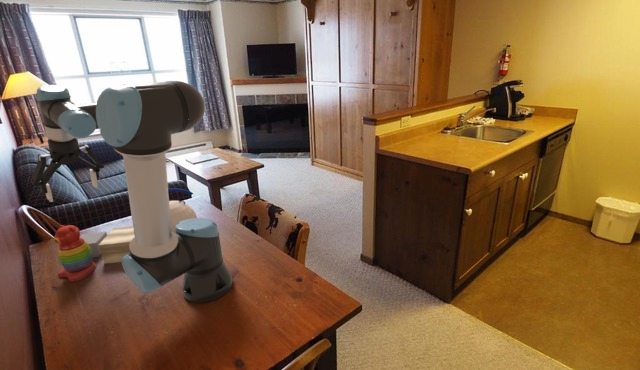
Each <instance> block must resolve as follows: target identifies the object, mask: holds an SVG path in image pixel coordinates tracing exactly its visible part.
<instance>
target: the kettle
mask: <svg viewBox="0 0 640 370" xmlns="http://www.w3.org/2000/svg"><path fill="white" fill-rule="evenodd" d="M169 192H176V193H177V192H178V193H185V194H187V195H189V196H192V195H194V193H193V192H192V191H190V190H187V189H184V188H177V187H173V188H172V187H171V188H170V187H168V193H169ZM169 206H170V219H171V231H172V232H173V233H175V232H176V231H175V226H176V225H177V223H179V222H181V221H183V220H187V219H192V218H198V217H197V214H196V212H195V210H194V209H193V208H192V206H190V205H189V204H187V203H186V202H185V201H183V200H169Z"/></svg>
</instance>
